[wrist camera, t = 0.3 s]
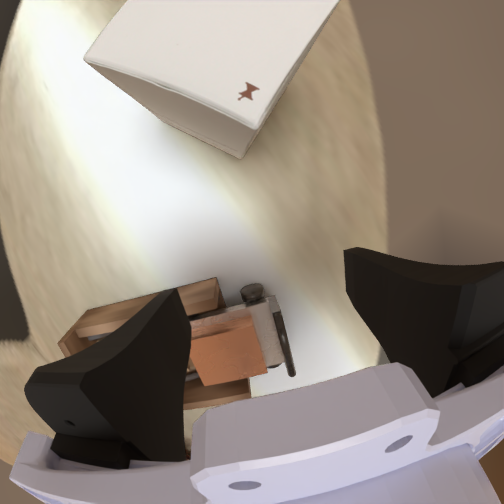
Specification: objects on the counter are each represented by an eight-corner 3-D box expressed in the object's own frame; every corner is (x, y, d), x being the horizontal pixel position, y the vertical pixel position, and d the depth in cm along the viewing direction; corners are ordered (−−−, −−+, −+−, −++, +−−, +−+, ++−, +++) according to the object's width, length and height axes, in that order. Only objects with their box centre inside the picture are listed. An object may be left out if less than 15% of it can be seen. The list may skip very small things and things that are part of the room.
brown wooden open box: (216, 277, 22) (212, 311, 16) (248, 369, 25) (253, 415, 19) (87, 309, 22) (57, 343, 16) (131, 389, 25) (116, 429, 19)
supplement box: (288, 85, 18) (352, -3, 6) (240, 162, 20) (256, 138, 8) (207, 46, 17) (189, -61, 5) (157, 120, 18) (75, 61, 6)
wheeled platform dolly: (270, 279, 22) (279, 304, 18) (288, 351, 24) (298, 383, 20) (180, 302, 22) (170, 331, 18) (209, 370, 24) (206, 404, 20)
